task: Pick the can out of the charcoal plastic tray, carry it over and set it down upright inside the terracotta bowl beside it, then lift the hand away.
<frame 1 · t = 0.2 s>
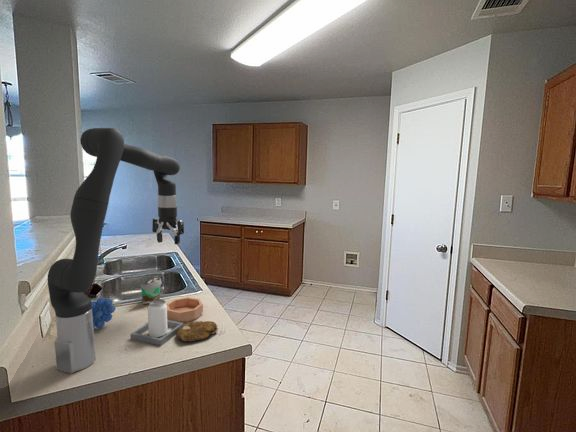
hand: (168, 243, 135), 29 cm above the worktop, tool pointing down, fingers open, 8 cm apart
tray: (158, 333, 117), on the worktop
bowl: (184, 314, 132), on the worktop
decorative rock: (197, 335, 117), on the worktop
food container: (154, 301, 144), on the worktop
can: (158, 333, 117), resting in tray
grapes: (98, 327, 120), on the worktop
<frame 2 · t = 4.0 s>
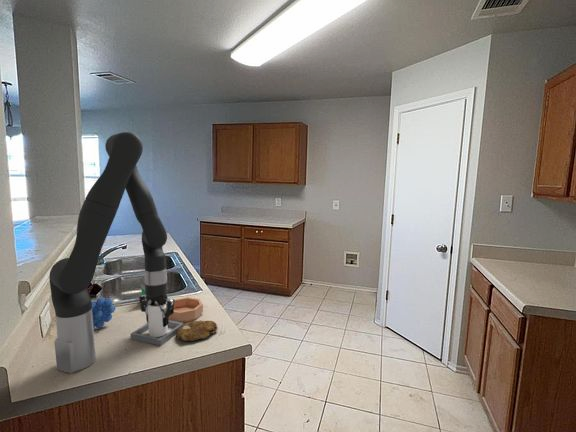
hand: (157, 324, 116), 4 cm above the worktop, tool pointing down, fingers closed on can, 6 cm apart
can: (158, 333, 117), resting in tray, touching gripper
everything else where it was.
when the fingers open (6 cm above the worktop, at t = 10.0 s): can drops 1 cm, resting on bowl.
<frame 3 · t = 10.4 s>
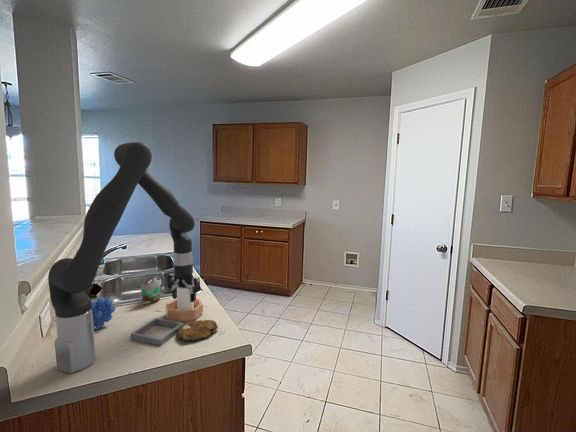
hand: (184, 299, 131), 7 cm above the worktop, tool pointing down, fingers open, 8 cm apart
can: (185, 313, 131), point 1 cm above the worktop, touching bowl
everything else where it was.
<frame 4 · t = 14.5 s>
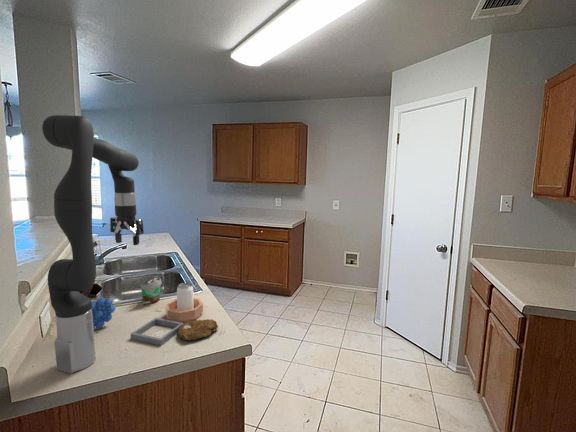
hand: (127, 243, 127), 30 cm above the worktop, tool pointing down, fingers open, 8 cm apart
at the end: can 0.6 cm off-centre on the bowl, point 0.8 cm above the bowl's base; can tilted 0°; the gripper is holding nothing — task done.
